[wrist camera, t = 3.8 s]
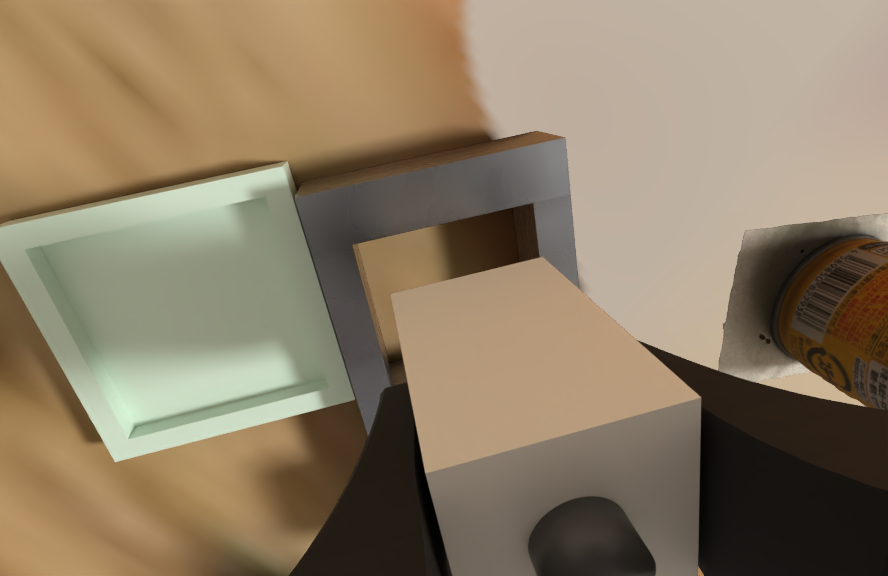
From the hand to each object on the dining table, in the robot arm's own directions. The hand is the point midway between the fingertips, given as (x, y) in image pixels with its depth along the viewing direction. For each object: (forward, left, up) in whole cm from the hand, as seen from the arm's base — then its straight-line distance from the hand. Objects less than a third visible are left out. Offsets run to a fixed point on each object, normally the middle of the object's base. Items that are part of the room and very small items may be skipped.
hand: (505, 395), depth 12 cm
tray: (+1, +9, -8) cm, 11 cm away
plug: (0, 0, -2) cm, 2 cm away
